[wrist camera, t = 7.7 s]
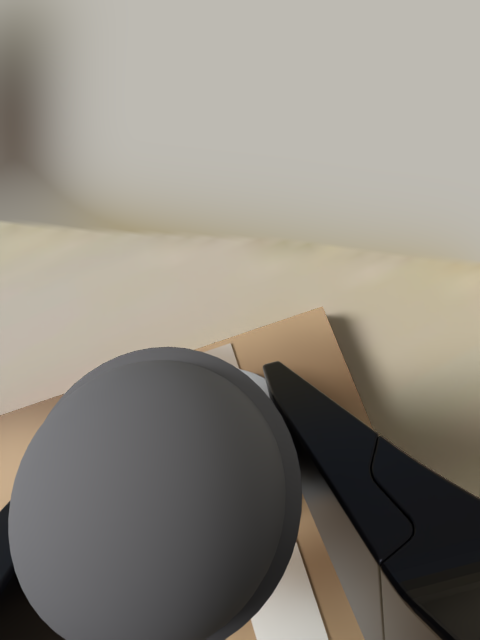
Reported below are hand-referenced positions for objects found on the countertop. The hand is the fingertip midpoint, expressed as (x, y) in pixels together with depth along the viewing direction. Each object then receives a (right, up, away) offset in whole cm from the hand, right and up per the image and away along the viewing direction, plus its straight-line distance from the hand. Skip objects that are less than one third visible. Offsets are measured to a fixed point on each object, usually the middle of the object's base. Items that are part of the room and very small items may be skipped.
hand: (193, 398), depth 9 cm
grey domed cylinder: (+1, -3, +5) cm, 5 cm away
